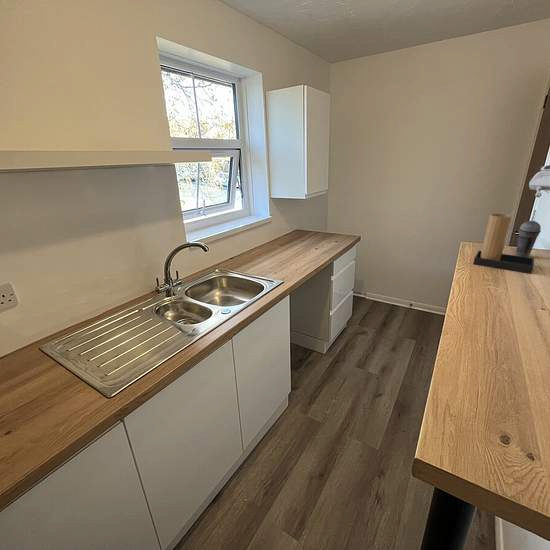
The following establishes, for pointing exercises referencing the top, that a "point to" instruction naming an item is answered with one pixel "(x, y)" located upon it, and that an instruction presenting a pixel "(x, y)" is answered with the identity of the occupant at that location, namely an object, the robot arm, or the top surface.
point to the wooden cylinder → (495, 236)
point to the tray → (507, 263)
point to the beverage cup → (527, 237)
